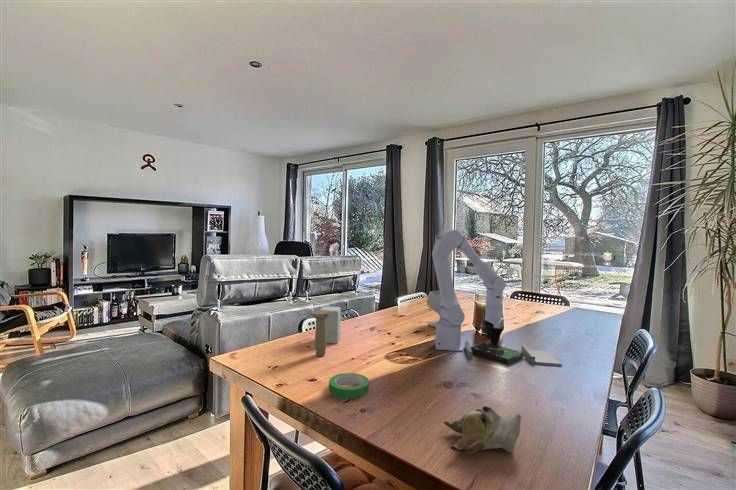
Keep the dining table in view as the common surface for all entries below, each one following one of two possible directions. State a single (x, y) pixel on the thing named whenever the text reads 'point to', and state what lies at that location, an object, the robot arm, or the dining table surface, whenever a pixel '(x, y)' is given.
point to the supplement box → (333, 324)
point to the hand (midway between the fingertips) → (492, 341)
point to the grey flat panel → (528, 356)
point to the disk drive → (497, 353)
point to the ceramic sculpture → (486, 431)
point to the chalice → (435, 305)
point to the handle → (320, 331)
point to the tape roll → (349, 391)
